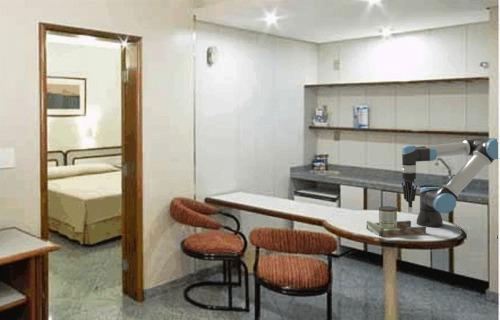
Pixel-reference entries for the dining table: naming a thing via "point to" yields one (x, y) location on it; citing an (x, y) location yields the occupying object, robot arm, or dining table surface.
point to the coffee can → (388, 217)
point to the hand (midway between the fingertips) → (409, 212)
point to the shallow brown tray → (395, 229)
